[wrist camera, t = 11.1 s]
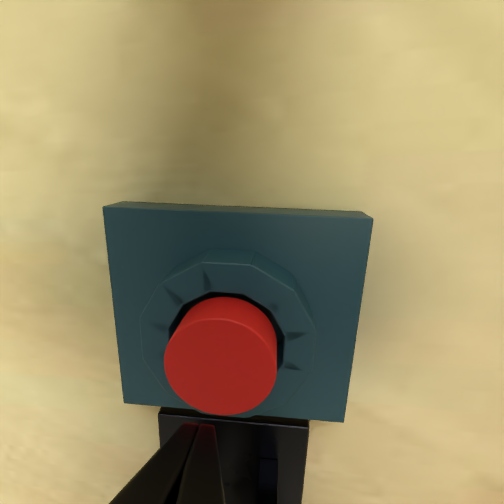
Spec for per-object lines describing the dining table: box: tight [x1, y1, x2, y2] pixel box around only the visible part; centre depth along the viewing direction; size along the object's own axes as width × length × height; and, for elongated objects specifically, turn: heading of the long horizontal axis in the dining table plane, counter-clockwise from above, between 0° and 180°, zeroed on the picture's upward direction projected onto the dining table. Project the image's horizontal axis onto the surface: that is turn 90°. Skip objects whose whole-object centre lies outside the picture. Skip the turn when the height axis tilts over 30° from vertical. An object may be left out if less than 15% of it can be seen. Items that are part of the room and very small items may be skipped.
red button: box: [164, 297, 277, 415], centre depth 11 cm, size 4×4×2 cm
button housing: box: [103, 202, 373, 423], centre depth 14 cm, size 10×11×4 cm
